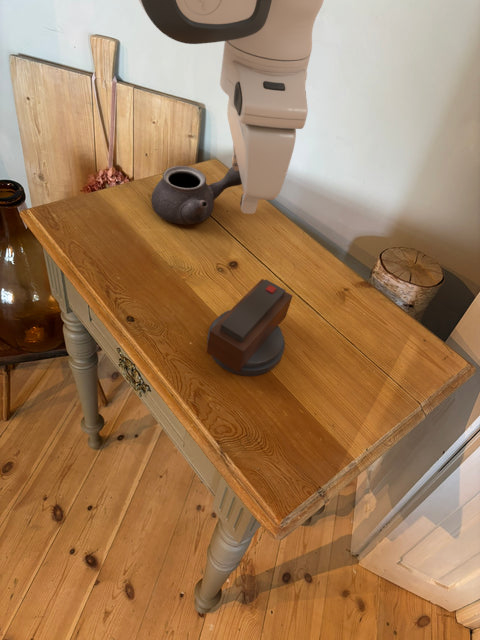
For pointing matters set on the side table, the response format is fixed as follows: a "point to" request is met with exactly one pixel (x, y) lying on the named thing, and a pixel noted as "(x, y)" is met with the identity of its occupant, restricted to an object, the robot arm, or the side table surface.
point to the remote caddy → (251, 328)
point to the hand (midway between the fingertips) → (242, 188)
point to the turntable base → (251, 370)
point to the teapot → (188, 194)
